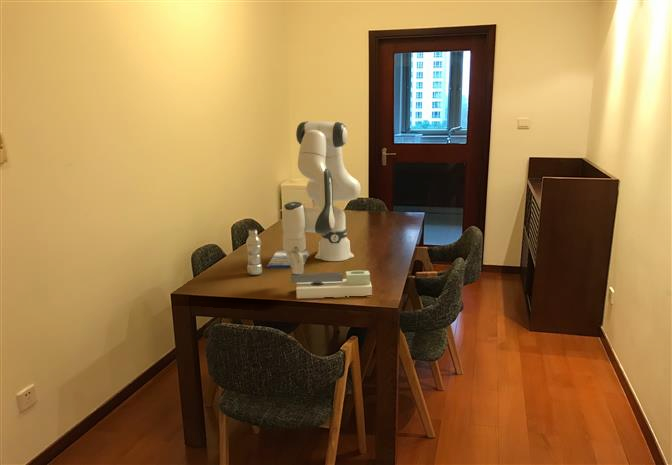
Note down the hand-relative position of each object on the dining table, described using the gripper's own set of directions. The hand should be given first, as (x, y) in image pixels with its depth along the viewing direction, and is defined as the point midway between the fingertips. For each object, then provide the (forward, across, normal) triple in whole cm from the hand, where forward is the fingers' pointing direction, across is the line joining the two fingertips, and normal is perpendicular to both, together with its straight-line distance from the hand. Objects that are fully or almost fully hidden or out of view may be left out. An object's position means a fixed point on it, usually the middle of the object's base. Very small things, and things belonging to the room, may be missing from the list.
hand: (295, 278), depth 212 cm
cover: (+2, -7, -24) cm, 25 cm away
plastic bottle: (+6, +27, +14) cm, 31 cm away
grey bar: (+1, -4, -8) cm, 9 cm away
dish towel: (+6, +44, -3) cm, 44 cm away
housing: (+6, -5, -14) cm, 16 cm away
